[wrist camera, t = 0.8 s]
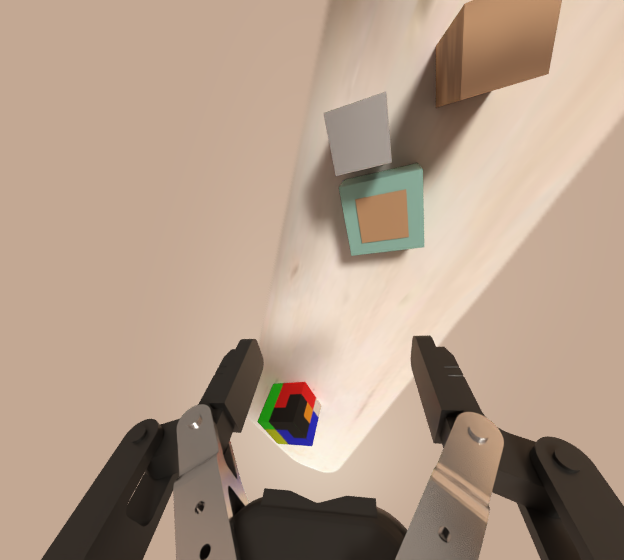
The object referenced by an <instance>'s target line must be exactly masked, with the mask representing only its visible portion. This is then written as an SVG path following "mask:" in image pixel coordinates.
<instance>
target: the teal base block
mask: <svg viewBox="0 0 624 560" xmlns="http://www.w3.org/2000/svg"><path fill="white" fill-rule="evenodd" d="M339 192H340V197H341V202H342V208H343V213H344V218H345V224H346V229H347V234H348V240H349V245H350V250H351V256H353V255H362V254H370V253H379V252H387V251H396V250H404V249H413V248H421V247H424V208H423V169H422V168H421V166H420V165H419V164H418V163H415V164H411V165H407V166H402V167H398V168H394V169H389V170H385V171H381V172H376V173H372V174H368V175H363V176H359V177H355V178H350V179H346V180H344V181H343V182H342V184H341V185H340V186H339Z"/></svg>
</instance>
